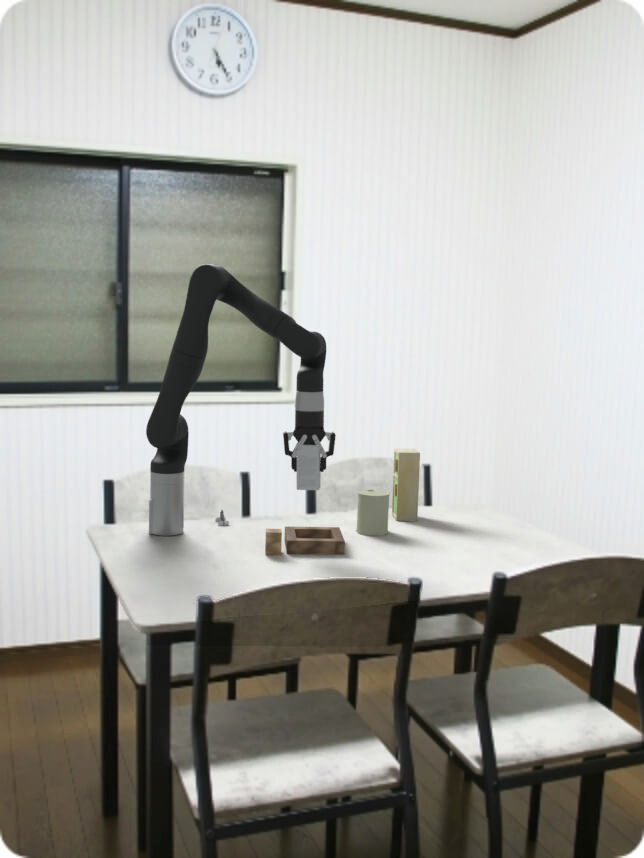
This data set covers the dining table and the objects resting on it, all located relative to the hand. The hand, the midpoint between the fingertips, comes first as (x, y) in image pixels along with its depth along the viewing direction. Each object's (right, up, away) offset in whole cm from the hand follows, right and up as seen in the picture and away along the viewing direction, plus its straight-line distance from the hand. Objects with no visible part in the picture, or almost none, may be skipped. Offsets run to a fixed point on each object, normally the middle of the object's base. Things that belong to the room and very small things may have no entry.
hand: (308, 471), depth 244 cm
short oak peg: (-9, -21, -4) cm, 23 cm away
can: (+18, -19, +22) cm, 34 cm away
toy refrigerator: (+28, -16, +40) cm, 52 cm away
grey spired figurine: (-25, -18, +22) cm, 37 cm away
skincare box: (0, -5, +1) cm, 5 cm away
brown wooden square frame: (+1, -20, +3) cm, 21 cm away
